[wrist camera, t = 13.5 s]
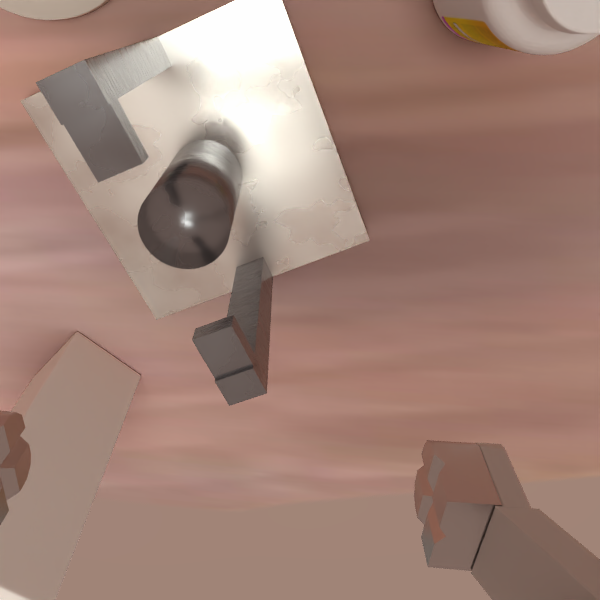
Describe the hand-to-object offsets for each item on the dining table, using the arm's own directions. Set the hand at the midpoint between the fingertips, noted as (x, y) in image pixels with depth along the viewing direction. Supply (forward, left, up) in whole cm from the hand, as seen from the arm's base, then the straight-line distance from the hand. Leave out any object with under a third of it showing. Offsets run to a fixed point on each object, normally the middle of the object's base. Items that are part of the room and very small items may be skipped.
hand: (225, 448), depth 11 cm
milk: (+20, +11, -27) cm, 35 cm away
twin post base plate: (+4, 0, -27) cm, 27 cm away
